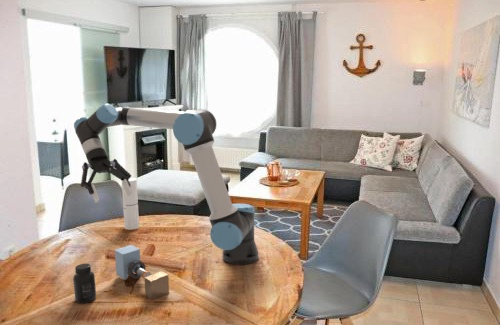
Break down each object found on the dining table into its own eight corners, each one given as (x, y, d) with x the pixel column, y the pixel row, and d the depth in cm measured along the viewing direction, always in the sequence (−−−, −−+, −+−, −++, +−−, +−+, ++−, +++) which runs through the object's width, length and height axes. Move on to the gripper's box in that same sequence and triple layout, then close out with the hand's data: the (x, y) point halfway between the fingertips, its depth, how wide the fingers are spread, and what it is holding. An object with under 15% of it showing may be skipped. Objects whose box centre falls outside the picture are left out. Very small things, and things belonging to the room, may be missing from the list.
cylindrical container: (135, 230, 209) (132, 181, 204) (121, 229, 211) (118, 180, 206) (141, 225, 216) (139, 178, 211) (128, 224, 218) (125, 177, 213)
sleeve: (116, 274, 160) (114, 249, 158) (132, 268, 164) (131, 244, 163) (124, 279, 155) (122, 254, 154) (140, 273, 160) (139, 249, 158)
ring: (128, 279, 154) (127, 263, 153) (142, 273, 158) (142, 258, 157) (130, 280, 153) (129, 264, 152) (145, 275, 157) (144, 259, 156)
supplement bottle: (99, 293, 147) (96, 261, 145) (92, 303, 141) (89, 270, 138) (79, 294, 147) (76, 262, 145) (71, 304, 140) (68, 271, 138)
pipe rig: (115, 276, 160) (114, 259, 159) (132, 270, 165) (131, 254, 164) (151, 300, 143) (150, 281, 142) (169, 293, 148) (168, 274, 146)
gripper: (119, 154, 179) (138, 196, 172) (60, 160, 161) (79, 208, 155) (126, 144, 175) (146, 187, 168) (66, 149, 157) (85, 198, 150)
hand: (114, 197), depth 161 cm, fingers open, 13 cm apart
